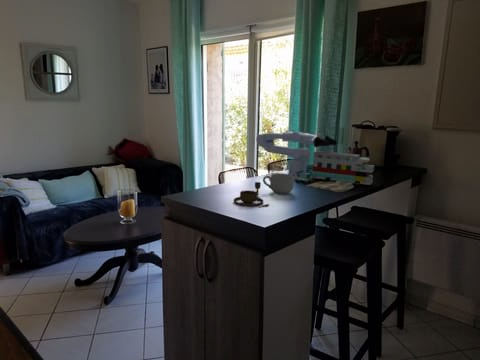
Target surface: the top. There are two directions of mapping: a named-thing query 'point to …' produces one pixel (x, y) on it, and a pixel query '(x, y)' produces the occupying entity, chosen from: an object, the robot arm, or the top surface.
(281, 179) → the teacup
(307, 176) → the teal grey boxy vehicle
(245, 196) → the place setting
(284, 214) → the top surface
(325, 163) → the toy vehicle
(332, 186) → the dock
